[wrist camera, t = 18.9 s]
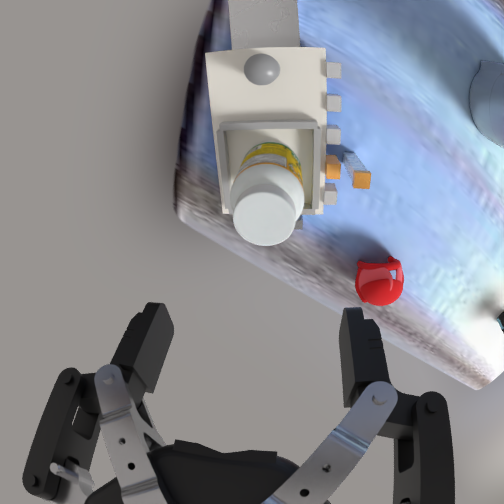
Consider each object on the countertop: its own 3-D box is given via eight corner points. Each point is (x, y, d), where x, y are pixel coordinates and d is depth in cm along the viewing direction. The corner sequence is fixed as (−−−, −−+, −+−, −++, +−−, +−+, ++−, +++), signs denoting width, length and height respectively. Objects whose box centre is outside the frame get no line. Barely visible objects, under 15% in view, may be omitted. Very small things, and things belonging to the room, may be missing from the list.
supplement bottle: (244, 137, 24) (221, 176, 17) (304, 143, 24) (312, 185, 16) (241, 191, 28) (222, 250, 20) (297, 196, 27) (300, 258, 20)
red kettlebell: (349, 262, 31) (349, 314, 31) (401, 262, 28) (399, 316, 28) (362, 254, 38) (362, 297, 38) (404, 254, 34) (403, 298, 35)
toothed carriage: (209, 53, 21) (188, 51, 16) (336, 50, 20) (350, 45, 15) (226, 206, 31) (213, 238, 26) (332, 207, 29) (341, 240, 24)
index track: (230, -3, 18) (215, -19, 14) (354, -2, 17) (371, -17, 12) (247, 214, 33) (239, 246, 28) (349, 216, 31) (360, 247, 26)
